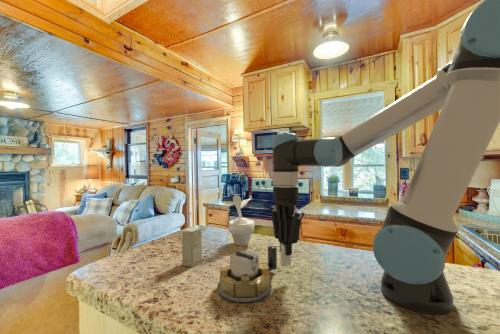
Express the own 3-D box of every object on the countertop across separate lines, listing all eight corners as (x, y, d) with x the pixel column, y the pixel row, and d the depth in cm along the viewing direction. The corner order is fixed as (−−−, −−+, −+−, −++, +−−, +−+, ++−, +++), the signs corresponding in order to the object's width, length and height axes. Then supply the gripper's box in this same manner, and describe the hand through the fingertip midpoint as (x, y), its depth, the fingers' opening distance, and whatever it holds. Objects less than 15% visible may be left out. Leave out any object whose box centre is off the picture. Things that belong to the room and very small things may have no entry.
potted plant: (240, 250, 94) (239, 189, 94) (223, 243, 102) (223, 187, 102) (261, 243, 102) (261, 187, 102) (244, 237, 111) (244, 186, 111)
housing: (282, 286, 65) (281, 252, 65) (245, 311, 53) (245, 270, 54) (244, 271, 75) (243, 241, 75) (206, 289, 64) (206, 255, 64)
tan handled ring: (245, 303, 54) (245, 275, 54) (210, 284, 64) (210, 260, 64) (292, 272, 70) (292, 251, 70) (259, 260, 79) (258, 241, 79)
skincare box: (192, 267, 78) (192, 231, 78) (181, 265, 79) (181, 230, 79) (202, 260, 84) (202, 227, 84) (191, 258, 85) (191, 226, 85)
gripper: (310, 186, 65) (311, 269, 65) (280, 184, 76) (281, 255, 76) (291, 188, 61) (291, 276, 61) (262, 185, 72) (262, 260, 72)
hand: (285, 264), depth 68 cm, fingers closed
